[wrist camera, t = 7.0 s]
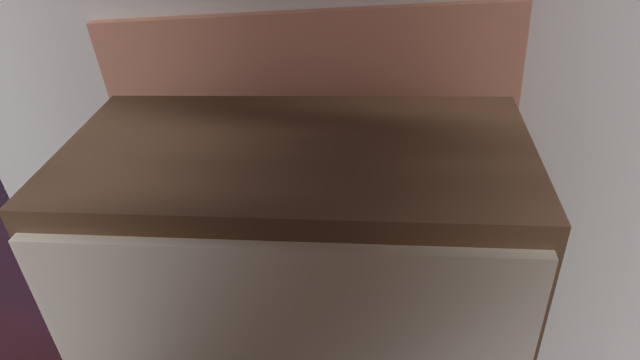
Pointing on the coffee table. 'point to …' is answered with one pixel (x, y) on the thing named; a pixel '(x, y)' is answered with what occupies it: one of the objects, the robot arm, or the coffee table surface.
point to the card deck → (293, 230)
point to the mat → (373, 80)
